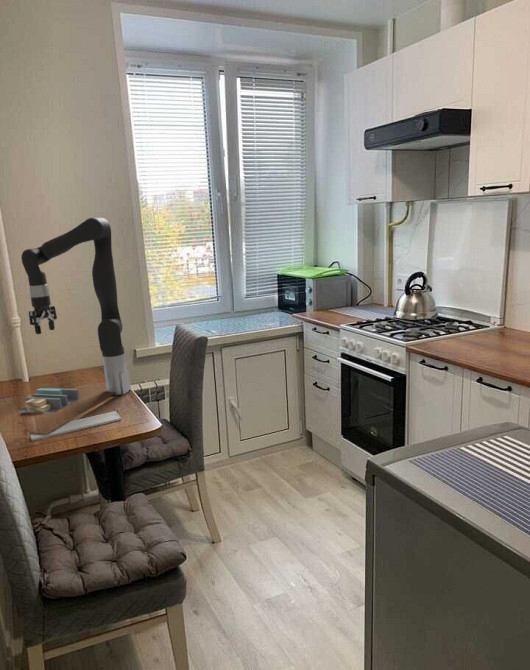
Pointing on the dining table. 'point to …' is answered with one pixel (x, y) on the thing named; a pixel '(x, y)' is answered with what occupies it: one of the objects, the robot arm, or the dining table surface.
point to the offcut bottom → (42, 409)
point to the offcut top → (35, 403)
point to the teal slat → (49, 391)
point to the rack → (55, 400)
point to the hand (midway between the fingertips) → (45, 331)
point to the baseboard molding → (79, 425)
